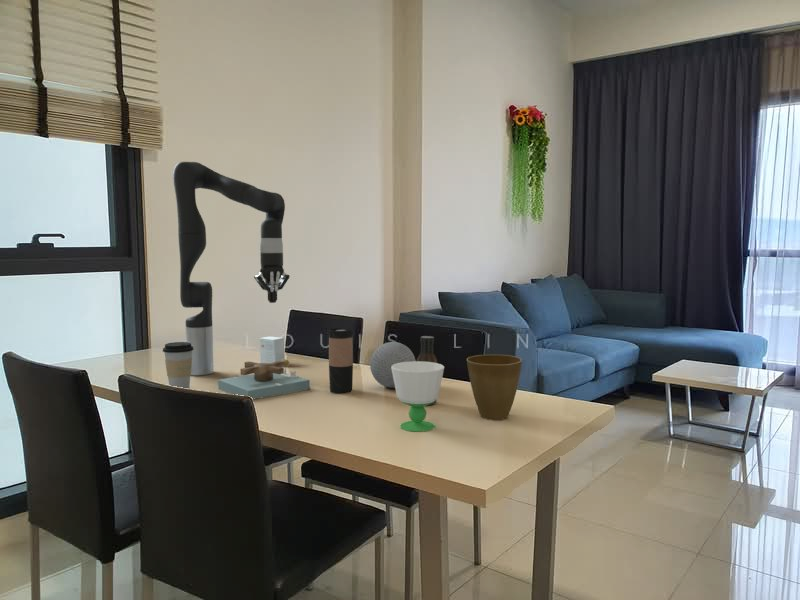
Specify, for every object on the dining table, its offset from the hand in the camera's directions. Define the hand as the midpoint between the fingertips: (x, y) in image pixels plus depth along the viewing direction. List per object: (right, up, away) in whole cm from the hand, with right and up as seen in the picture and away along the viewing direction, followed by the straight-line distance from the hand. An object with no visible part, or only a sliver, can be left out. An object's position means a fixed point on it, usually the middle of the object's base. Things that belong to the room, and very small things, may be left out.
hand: (272, 302), depth 211 cm
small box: (-6, -25, +30) cm, 40 cm away
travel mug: (+25, -29, -13) cm, 40 cm away
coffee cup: (-28, -28, -11) cm, 41 cm away
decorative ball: (+41, -28, -7) cm, 50 cm away
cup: (+48, -32, -51) cm, 77 cm away
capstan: (0, -25, -10) cm, 27 cm away
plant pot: (+69, -31, -41) cm, 86 cm away
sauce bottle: (+51, -30, -28) cm, 66 cm away
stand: (-1, -28, -10) cm, 30 cm away
